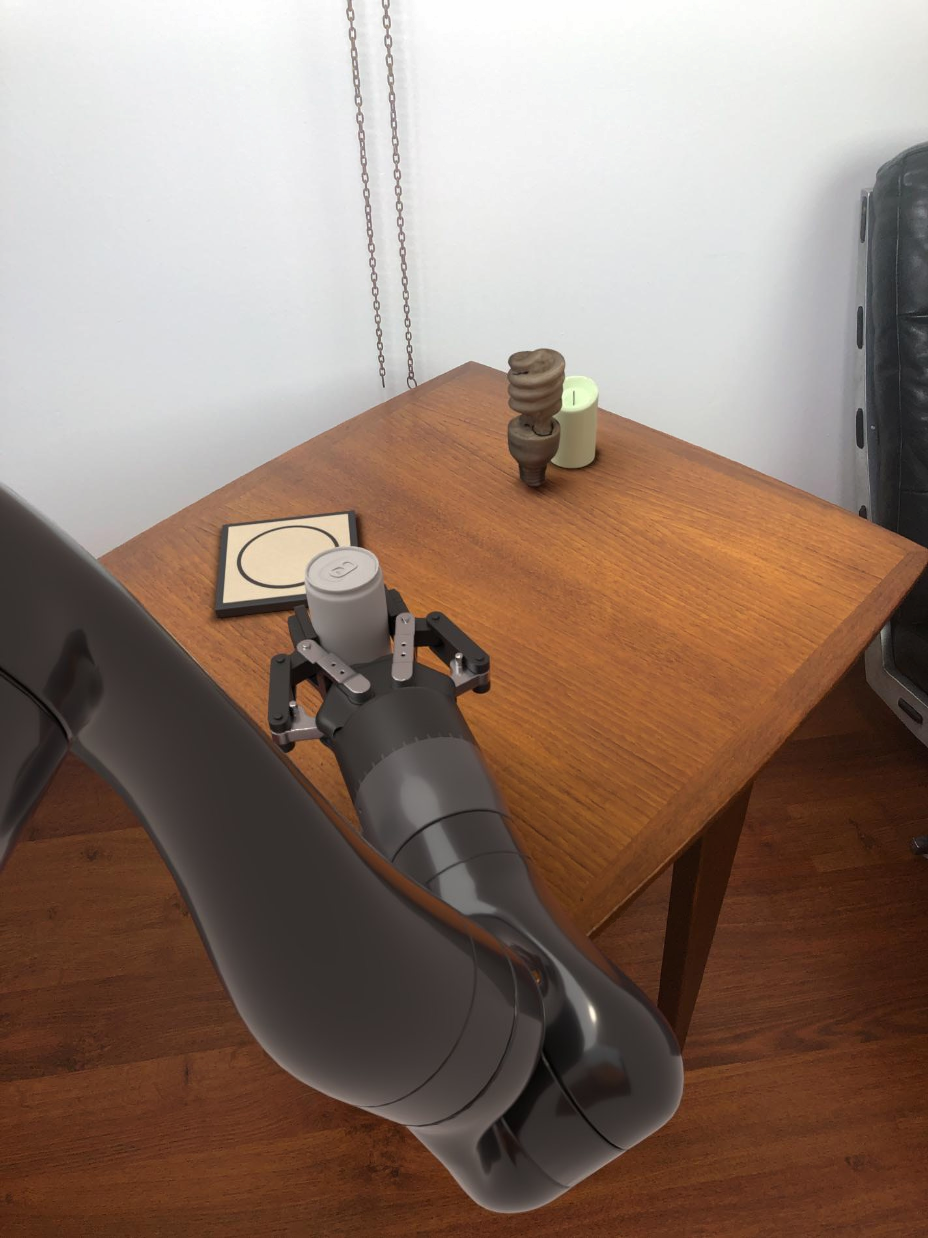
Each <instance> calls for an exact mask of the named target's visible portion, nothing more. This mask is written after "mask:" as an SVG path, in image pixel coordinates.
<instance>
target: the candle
mask: <svg viewBox="0 0 928 1238" xmlns="http://www.w3.org/2000/svg"><path fill="white" fill-rule="evenodd" d="M599 392H600V391H599V387H598V385H597V383H596V382H595V381H594V380H593V379H591V378H589V377H588V376H583V375H569V376H567V377H566V376H565V380H564V383H563V394H562V408H561V410H560V411H559V412H558V413H557V414H555V415H554V416H552V417H554V418H555V419H556V420H557V421H558V422H559V423H560V426H561V430H560V442H559V448H558V451H557V453H556V455H555V456H554V457H553V458H552V459H551V461H550V462H551V463H552V464H554V465H555V466H558V467H561V468H564V469H578V468H583V467H586V466H588V465H590V464H591V463H592V462H593V461H594V460H595V457H596V445H597V444H596V443H597V442H596V441H597V427H598V412H599V411H598V409H599V396H600V395H599V394H600V393H599Z"/></svg>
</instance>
